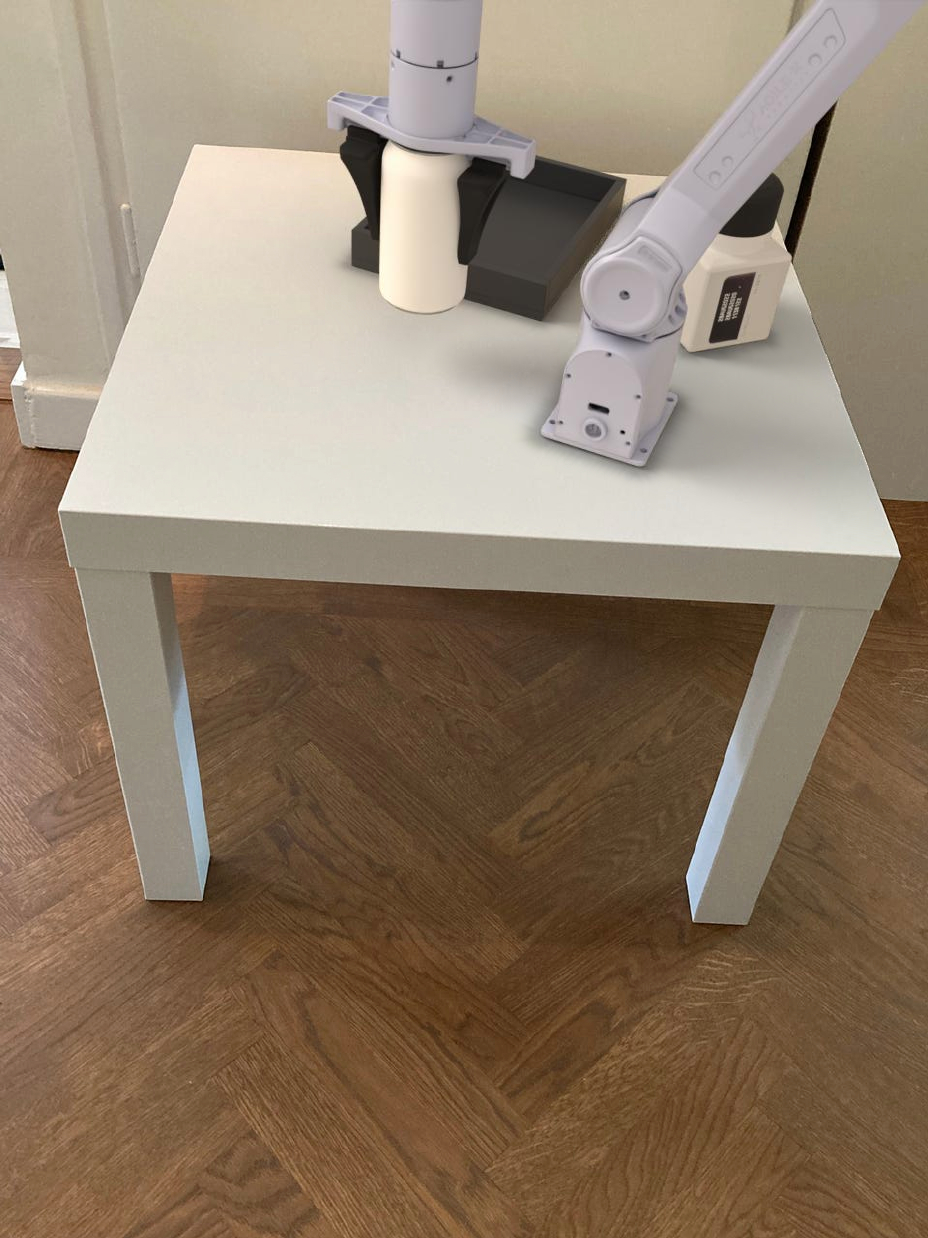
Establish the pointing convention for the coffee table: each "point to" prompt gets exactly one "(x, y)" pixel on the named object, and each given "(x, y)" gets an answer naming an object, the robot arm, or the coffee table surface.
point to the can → (420, 230)
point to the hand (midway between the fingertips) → (424, 246)
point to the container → (738, 277)
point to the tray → (530, 236)
